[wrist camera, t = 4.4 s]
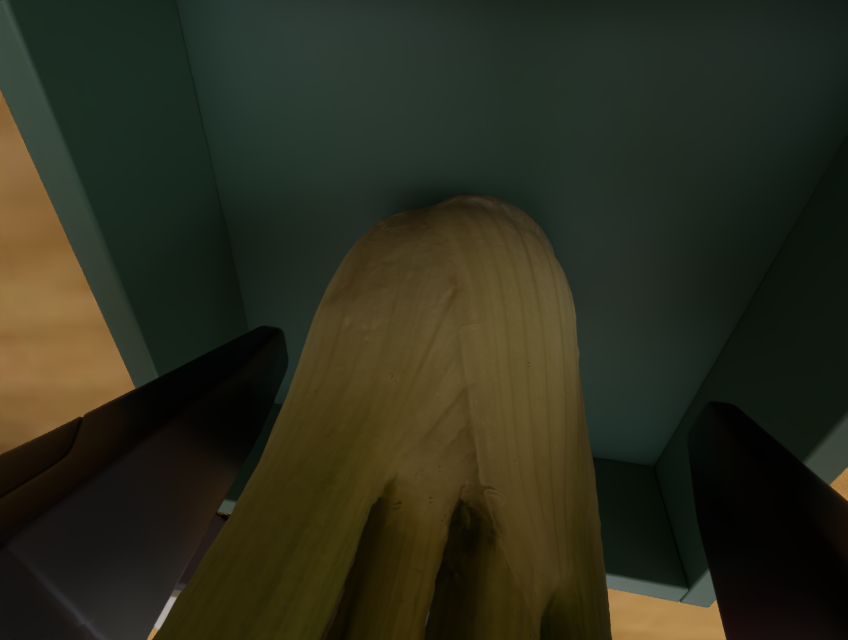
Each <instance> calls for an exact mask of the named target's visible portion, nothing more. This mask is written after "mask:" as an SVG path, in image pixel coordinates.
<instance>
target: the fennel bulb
mask: <svg viewBox="0 0 848 640" xmlns="http://www.w3.org/2000/svg"><path fill="white" fill-rule="evenodd" d="M578 362H579V348H578V346H577V330H576V314H575V306H574V301H573V298H572V292H571V290H570V287H569V284H568V281H567V278H566V275H565V273H564V271H563V269H562V267H561V265H560V263H559V261H558V260H557V258H556V257H555V256H554V251H553V248H552V245H551V242H550V241H549V239H548V238H547V236H546V235H545V233H544V232H543V230H542V229H541V228H540V226H539V225H538V224H537V223H536V222H535V221H534V220H533V219H532V218H531V217H530V216H529V215H528V214H526V213H525V212H524V211H522V210H521V209H519V208H517V207H516V206H514V205H512V204H510V203H508V202H506V201H504V200H501V199H499V198H497V197H495V196H489V195H483V194H457V195H453V196H450V197H449V198H447V199H445V200H443V201H442V202H440V203H438V204H435V205H432V206H428V207H416V208H414V209H410V210H406V211H402V212H398V213H395V214H393V215H391V216H389V217H388V218H386V219H384V220H382V221H379V222H377V223H376V224H375V225H374V226H372V227H371V228H370V229H369V230H368V231H367V232H366V233H365V234H364V235H362V236H361V237H360V238H359V239H358V240H357V241H356V243H355V244H354V245H353V247H352V248H351V249H350V250H349V251H348V253H347V255H346V256H345V257H344V259H343V260H342V262H341V264H340V266H339V268H338V269H337V270H336V272H335V274H334V276H333V278H332V279H331V281H330V283H329V285H328V287H327V289H326V291H325V293H324V296H323V298H322V300H321V301H320V304H319V306H318V308H317V310H316V313H315V316H314V318H313V321H312V324H311V327H310V330H309V332H308V335H307V338H306V341H305V345H304V347H303V350H302V353H301V357H300V360H299V363H298V367H297V368H296V371H295V374H294V377H293V380H292V382H291V385H290V388H289V392H288V394H287V396H286V399H285V401H284V403H283V406H282V408H281V411H280V413H279V415H278V417H277V420H276V422H275V424H274V426H273V429H272V431H271V434H270V437H269V439H268V442H267V444H266V447H265V449H264V451H263V454H262V457H261V459H260V461H259V464H258V465H257V467H256V469H255V471H254V472H253V474H252V476H251V477H250V479H249V481H248V482H247V484H246V486H245V489H244V491H243V492H242V494H241V496H240V497H239V499H238V500H237V502H236V504H235V507H234V509H233V512H232V514H231V515H230V517H229V518H228V520H227V521H226V523H225V524H224V526H223V527H222V529H221V530H220V532H219V534H218V536H217V537H216V539H215V540H214V542H213V543H212V545H211V546H210V547H209V549H208V550H207V552H206V553H205V555H204V557H203V558H202V560H201V562H200V564H199V566H198V568H197V570H196V572H195V574H194V575H193V577H192V578H191V580H190V581H189V583H188V584H187V585H186V586H185V588H184V589H183V590H182V591H181V592H180V594H179V595H178V597H177V598H176V600H175V602H174V604H173V606H172V607H171V609H170V611H169V613H168V615H167V617H166V618H165V620H164V622H163V624H162V626H161V627H160V629H159V630H158V632H157V633H156V635H155V636H154V638H153V639H152V640H612V636H611V624H610V612H609V602H608V591H607V583H606V571H605V567H604V559H603V547H602V541H601V534H600V528H601V523H600V517H599V511H598V498H597V492H596V477H595V469H594V465H593V458H592V452H591V446H590V442H589V437H588V428H587V423H586V417H585V406H584V400H583V392H582V391H583V389H582V385H581V378H580V375H579V366H578ZM428 612H429V616H428V620H427V624H426V619H427V615H428ZM425 625H426V626H425Z"/></svg>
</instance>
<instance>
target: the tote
mask: <svg viewBox="0 0 848 640" xmlns="http://www.w3.org/2000/svg"><path fill="white" fill-rule="evenodd" d="M0 90H1V92H2V94H3V96H4V98H5V101H6V103H7V105H8V107H9V109H10V112H11V114H12V116H13V118H14V120H15V123H16V125H17V127H18V129H19V132H20V134H21V136H22V138H23V140H24V143H25V145H26V147H27V149H28V151H29V154H30V156H31V158H32V160H33V162H34V165H35V167H36V169H37V171H38V173H39V176H40V178H41V180H42V182H43V185H44V187H45V189H46V191H47V193H48V196H49V198H50V200H51V202H52V204H53V207H54V209H55V211H56V213H57V215H58V218H59V220H60V222H61V224H62V227H63V229H64V231H65V233H66V235H67V238H68V240H69V242H70V244H71V246H72V249H73V251H74V253H75V255H76V257H77V260H78V262H79V264H80V266H81V268H82V271H83V273H84V275H85V277H86V280H87V282H88V284H89V286H90V288H91V291H92V293H93V295H94V297H95V299H96V302H97V304H98V306H99V308H100V310H101V313H102V315H103V317H104V319H105V322H106V324H107V326H108V328H109V330H110V333H111V335H112V337H113V339H114V341H115V344H116V346H117V348H118V350H119V352H120V355H121V357H122V359H123V361H124V364H125V366H126V368H127V370H128V372H129V375H130V377H131V379H132V381H133V383H134V386H135V388H138V387H140V386H142V385H144V384H146V383H148V382H150V381H152V380H154V379H156V378H158V377H160V376H162V375H164V374H166V373H168V372H170V371H172V370H174V369H176V368H178V367H180V366H182V365H184V364H186V363H188V362H190V361H192V360H194V359H196V358H198V357H200V356H202V355H204V354H206V353H208V352H210V351H212V350H214V349H216V348H218V347H220V346H222V345H224V344H226V343H228V342H230V341H232V340H234V339H236V338H238V337H240V336H242V335H244V334H246V333H248V332H250V331H252V330H254V329H255V328H257V327H260V326H263V325H266V326H272V327H278V328H281V329H282V330H283V331H284V334H285V339H286V345H287V351H288V357H289V364H288V368H287V371H286V374H285V376H284V379H283V381H282V383H281V386H280V388H279V391H278V393H277V395H276V398H275V400H274V403H273V405H272V408H271V410H270V412H269V415H268V417H267V420H266V422H265V424H264V427H263V429H262V431H261V433H260V435H259V437H258V439H257V441H256V443H255V445H254V447H253V448H252V450H251V452H250V454H249V456H248V457H247V459H246V461H245V463H244V465H243V466H242V468H241V470H240V472H239V474H238V475H237V477H236V479H235V481H234V483H233V484H232V486H231V488H230V490H229V492H228V494H227V495H226V497H225V499H224V501H223V503H222V504H221V506H220V508H219V510H218V512H223V513H228V514H232V512H233V509H234V507H235V504H236V502H237V500H238V499H239V497H240V496H241V494H242V492H243V491H244V489H245V486H246V484H247V482H248V481H249V479H250V477H251V476H252V474H253V472H254V471H255V469H256V467H257V465H258V464H259V461H260V459H261V457H262V454H263V451H264V449H265V447H266V444H267V442H268V439H269V437H270V434H271V431H272V429H273V426H274V424H275V422H276V420H277V417H278V415H279V413H280V411H281V408H282V406H283V403H284V401H285V399H286V396H287V394H288V392H289V388H290V385H291V382H292V380H293V377H294V374H295V371H296V368H297V367H298V363H299V360H300V357H301V353H302V350H303V347H304V345H305V341H306V338H307V335H308V332H309V330H310V327H311V324H312V321H313V318H314V316H315V313H316V310H317V308H318V306H319V304H320V301H321V300H322V298H323V296H324V293H325V291H326V289H327V287H328V285H329V283H330V281H331V279H332V278H333V276H334V274H335V272H336V270H337V269H338V268H339V266H340V264H341V262H342V260H343V259H344V257H345V256H346V255H347V253H348V251H349V250H350V249H351V248H352V247H353V245H354V244H355V243H356V241H357V240H358V239H359V238H360V237H361V236H362V235H364V234H365V233H366V232H367V231H368V230H369V229H370V228H371V227H372V226H374V225H375V224H376V223H377V222H379V221H382V220H384V219H386V218H388V217H389V216H391V215H393V214H395V213H398V212H402V211H406V210H410V209H414V208H416V207H428V206H432V205H435V204H438V203H440V202H442V201H443V200H445V199H447V198H449V197H450V196H453V195H457V194H483V195H489V196H495V197H497V198H499V199H501V200H504V201H506V202H508V203H510V204H512V205H514V206H516V207H517V208H519V209H521V210H522V211H524V212H525V213H526V214H528V215H529V216H530V217H531V218H532V219H533V220H534V221H535V222H536V223H537V224H538V225H539V226H540V228H541V229H542V230H543V232H544V233H545V235H546V236H547V238H548V239H549V241H550V242H551V245H552V248H553V251H554V256H555V257H556V258H557V260H558V261H559V263H560V265H561V267H562V269H563V271H564V273H565V275H566V278H567V281H568V284H569V287H570V290H571V292H572V298H573V301H574V306H575V314H576V330H577V346H578V348H579V362H578V366H579V375H580V378H581V385H582V389H583V391H582V392H583V400H584V406H585V417H586V423H587V428H588V437H589V442H590V446H591V452H592V458H593V465H594V469H595V477H596V492H597V498H598V511H599V517H600V523H601V528H600V534H601V541H602V547H603V559H604V567H605V571H606V583H607V588H609V589H614V590H619V591H625V592H630V593H635V594H640V595H645V596H650V597H655V598H660V599H665V600H670V601H675V602H678V601H680V602H681V603H686V604H691V605H696V606H701V607H709V606H710V605H711V604H712V603H713V602H714V601H715V600H716V596H715V592H714V588H713V584H712V579H711V575H710V571H709V567H708V563H707V559H706V555H705V551H704V547H703V543H702V539H701V535H700V531H699V526H698V522H697V516H696V510H695V502H694V494H693V487H692V479H691V471H690V463H689V455H688V447H687V434H688V431H689V429H690V427H691V425H692V424H693V422H694V420H695V419H696V417H697V416H698V414H699V412H700V411H701V409H702V408H703V406H704V405H705V403H707V402H709V401H718V402H724V403H730V404H733V405H736V406H737V407H738V408H740V409H741V410H742V411H743V412H744V413H745V414H747V415H748V416H749V417H750V418H751V419H752V420H754V421H755V422H756V423H757V424H758V425H759V426H761V427H762V428H763V429H764V430H765V431H766V432H768V433H769V434H770V435H771V436H772V437H773V438H775V439H776V440H777V441H778V442H779V443H780V444H782V445H783V446H784V447H785V448H786V449H787V450H789V451H790V452H791V453H792V454H793V455H794V456H796V457H797V458H798V459H799V460H800V461H801V462H803V463H804V464H805V465H806V466H807V467H808V468H810V469H811V470H812V471H813V472H814V473H815V474H817V475H818V476H819V477H820V478H821V479H822V480H824V481H825V482H826V483H827V484H828V485H830V484H831V483H832V482H833V481H834V480H835V479H836V478H837V477H838V476H839V475H840V474H841V473H842V472H843V471H844V470H845V469H846V468H847V467H848V0H0Z"/></svg>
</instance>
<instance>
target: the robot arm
mask: <svg viewBox="0 0 848 640" xmlns="http://www.w3.org/2000/svg"><path fill="white" fill-rule="evenodd" d="M288 364H289V357H288V351H287V345H286V339H285V334H284V331H283V330H282V329H281V328H278V327H272V326H266V325H263V326H260V327H257V328H255V329H254V330H252V331H250V332H248V333H246V334H244V335H242V336H240V337H238V338H236V339H234V340H232V341H230V342H228V343H226V344H224V345H222V346H220V347H218V348H216V349H214V350H212V351H210V352H208V353H206V354H204V355H202V356H200V357H198V358H196V359H194V360H192V361H190V362H188V363H186V364H184V365H182V366H180V367H178V368H176V369H174V370H172V371H170V372H168V373H166V374H164V375H162V376H160V377H158V378H156V379H154V380H152V381H150V382H148V383H146V384H144V385H142V386H140V387H138V388H136V389H134V390H132V391H130V392H128V393H126V394H124V395H122V396H120V397H118V398H116V399H114V400H112V401H110V402H108V403H106V404H104V405H102V406H100V407H98V408H96V409H94V410H92V411H90V412H88V413H86V414H85V415H84V417H78V418H76V419H74V420H72V421H70V422H68V423H66V424H64V425H62V426H60V427H58V428H56V429H54V430H52V431H50V432H48V433H46V434H44V435H42V436H40V437H38V438H35V439H33V440H31V441H29V442H27V443H25V444H23V445H21V446H19V447H17V448H14V449H12V450H10V451H8V452H6V453H3V454H1V455H0V640H147V638H148V636H149V634H150V633H151V631H152V629H153V627H154V625H155V624H156V622H157V620H158V618H159V616H160V615H161V613H162V611H163V609H164V607H165V606H166V604H167V602H168V600H169V598H170V596H171V595H172V593H173V591H174V589H175V587H176V586H177V584H178V582H179V580H180V578H181V577H182V575H183V573H184V571H185V569H186V568H187V566H188V564H189V562H190V560H191V559H192V557H193V555H194V553H195V551H196V550H197V548H198V546H199V544H200V542H201V540H202V539H203V537H204V535H205V533H206V531H207V530H208V528H209V526H210V524H211V522H212V521H213V519H214V517H215V515H216V513H217V512H218V510H219V508H220V506H221V504H222V503H223V501H224V499H225V497H226V495H227V494H228V492H229V490H230V488H231V486H232V484H233V483H234V481H235V479H236V477H237V475H238V474H239V472H240V470H241V468H242V466H243V465H244V463H245V461H246V459H247V457H248V456H249V454H250V452H251V450H252V448H253V447H254V445H255V443H256V441H257V439H258V437H259V435H260V433H261V431H262V429H263V427H264V424H265V422H266V420H267V417H268V415H269V412H270V410H271V408H272V405H273V403H274V400H275V398H276V395H277V393H278V391H279V388H280V386H281V383H282V381H283V379H284V376H285V374H286V371H287V368H288ZM687 447H688V455H689V463H690V471H691V479H692V487H693V494H694V502H695V510H696V516H697V522H698V526H699V531H700V535H701V539H702V543H703V547H704V551H705V555H706V559H707V563H708V567H709V571H710V575H711V579H712V584H713V588H714V592H715V596H716V600H717V604H718V608H719V612H720V616H721V620H722V624H723V628H724V632H725V636H726V640H848V501H847V500H846V499H845V498H844V497H842V496H841V495H840V494H839V493H838V492H836V491H835V490H834V489H833V488H832V487H831V486H829V485H828V484H827V483H826V482H825V481H824V480H822V479H821V478H820V477H819V476H818V475H817V474H815V473H814V472H813V471H812V470H811V469H810V468H808V467H807V466H806V465H805V464H804V463H803V462H801V461H800V460H799V459H798V458H797V457H796V456H794V455H793V454H792V453H791V452H790V451H789V450H787V449H786V448H785V447H784V446H783V445H782V444H780V443H779V442H778V441H777V440H776V439H775V438H773V437H772V436H771V435H770V434H769V433H768V432H766V431H765V430H764V429H763V428H762V427H761V426H759V425H758V424H757V423H756V422H755V421H754V420H752V419H751V418H750V417H749V416H748V415H747V414H745V413H744V412H743V411H742V410H741V409H740V408H738V407H737V406H736V405H733V404H730V403H724V402H718V401H709V402H707V403H705V405H704V406H703V408H702V409H701V411H700V412H699V414H698V416H697V417H696V419H695V420H694V422H693V424H692V425H691V427H690V429H689V431H688V434H687Z"/></svg>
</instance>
